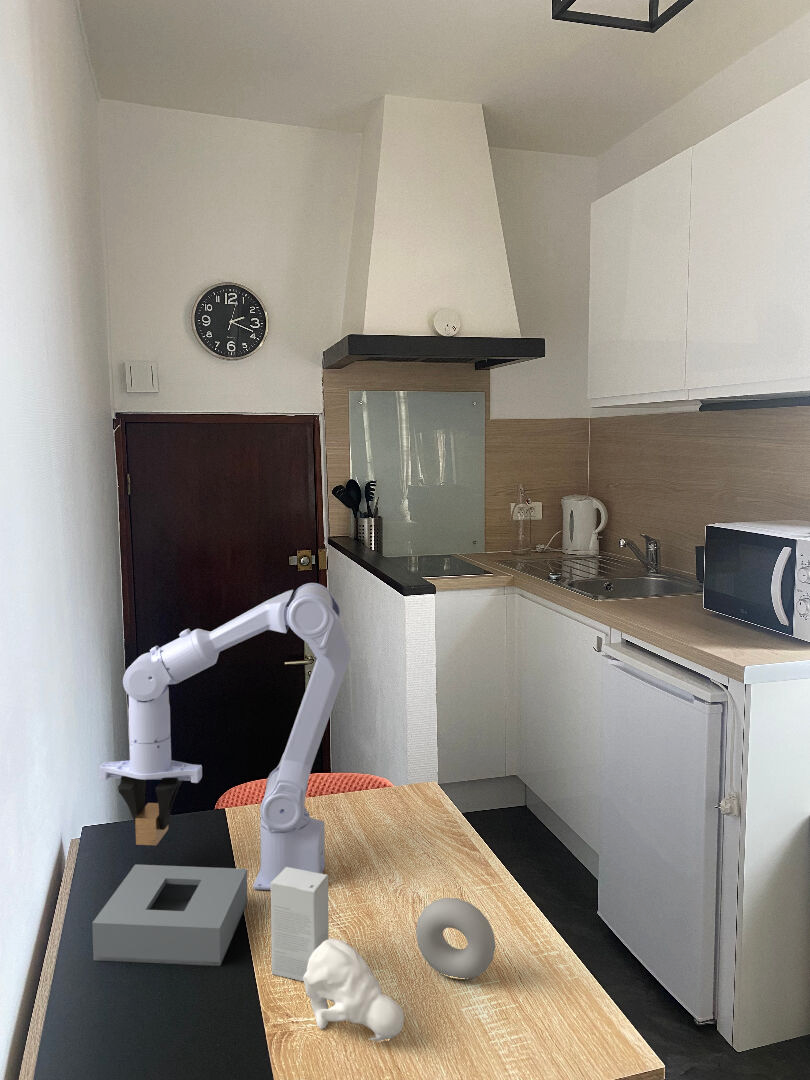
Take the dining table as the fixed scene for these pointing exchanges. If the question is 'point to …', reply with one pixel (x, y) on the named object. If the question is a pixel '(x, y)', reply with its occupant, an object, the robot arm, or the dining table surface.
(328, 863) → the dining table surface
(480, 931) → the donut
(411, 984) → the dining table surface
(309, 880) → the skincare box
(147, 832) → the brown wooden block
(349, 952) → the white animal sculpture
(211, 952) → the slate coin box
